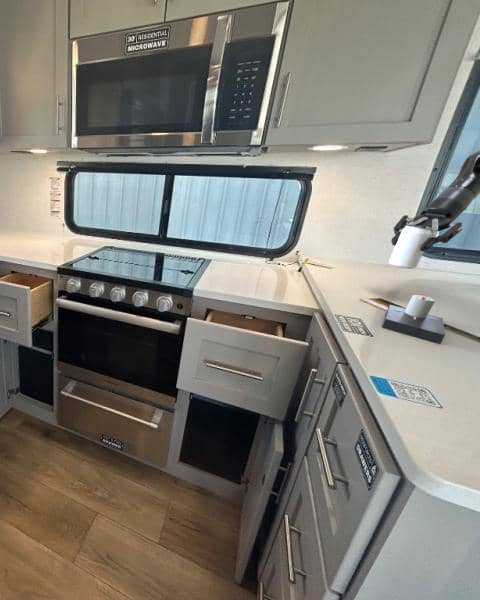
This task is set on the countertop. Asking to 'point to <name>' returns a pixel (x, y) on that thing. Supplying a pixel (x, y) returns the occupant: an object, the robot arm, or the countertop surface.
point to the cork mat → (379, 303)
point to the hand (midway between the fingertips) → (407, 246)
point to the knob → (419, 306)
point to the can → (409, 246)
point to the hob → (414, 324)
